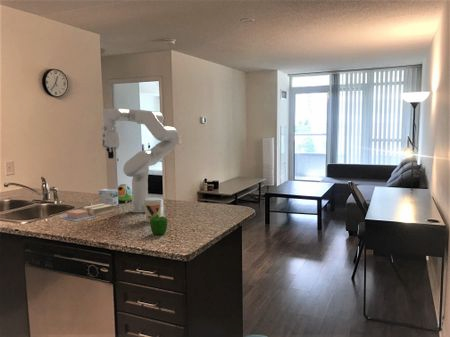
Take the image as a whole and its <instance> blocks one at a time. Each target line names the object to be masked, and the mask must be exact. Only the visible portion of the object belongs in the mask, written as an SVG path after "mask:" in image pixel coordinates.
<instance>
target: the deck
mask: <svg viewBox="0 0 450 337" xmlns="http://www.w3.org/2000/svg"><path fill="white" fill-rule="evenodd" d="M81 210H83V211H88V215H90V216H95V217H96V216H102V215H106V214H110V213H115V206H114V205H109V204H103V203H101V204H99V203H96V204H92V205H86V206H85V205H84V206H82V208H81Z"/></svg>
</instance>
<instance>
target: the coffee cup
mask: <svg viewBox="0 0 450 337" xmlns="http://www.w3.org/2000/svg"><path fill="white" fill-rule="evenodd" d="M144 203H145V212H144V215H145V221H146V222H148V223H150V219H151V218H154V217H156V215H155V216H154V215H153V214H158V215H159V217H161V210H162V198H160V197H148V198H146V199H145V200H144Z"/></svg>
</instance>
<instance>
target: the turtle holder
mask: <svg viewBox="0 0 450 337" xmlns="http://www.w3.org/2000/svg"><path fill="white" fill-rule="evenodd" d="M115 189H118V202H119V201H123V202H124V204H127V203H128V201H130V202H132V187H130V186H129V185H128V184H127V183H126V184H124V183H121V184H117V186H116V187H115Z"/></svg>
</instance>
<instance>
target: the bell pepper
mask: <svg viewBox="0 0 450 337" xmlns="http://www.w3.org/2000/svg"><path fill="white" fill-rule="evenodd" d="M153 215H154V216H155V215H156V217H154V218H151V219H150V222H149V226H150V230H151V233H152V234H153V235H155V236H156V235H164V234H165V233H166V232H167V228H168V219H167V217H165V216H160V217H159V215H158V214H153Z"/></svg>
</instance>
